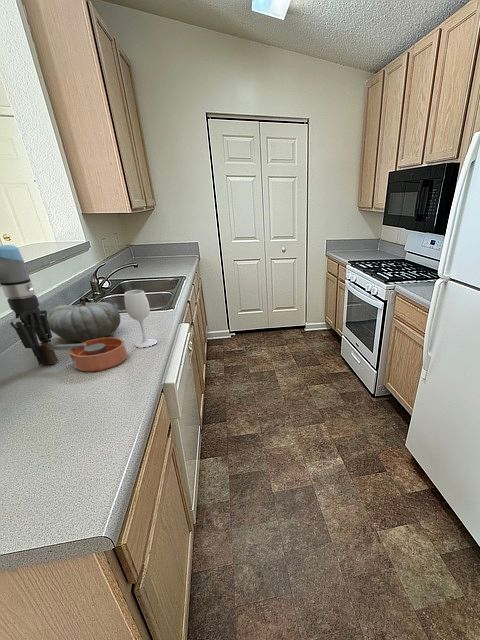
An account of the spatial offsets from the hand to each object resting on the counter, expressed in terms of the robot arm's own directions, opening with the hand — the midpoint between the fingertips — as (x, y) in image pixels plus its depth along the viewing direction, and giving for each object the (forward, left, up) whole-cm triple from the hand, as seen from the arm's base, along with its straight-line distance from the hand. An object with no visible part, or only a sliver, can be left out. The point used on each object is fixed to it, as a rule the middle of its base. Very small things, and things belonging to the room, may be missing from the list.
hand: (46, 361), depth 116 cm
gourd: (0, +25, -1) cm, 25 cm away
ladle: (+10, 0, 0) cm, 10 cm away
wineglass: (+27, +18, -1) cm, 33 cm away
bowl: (+18, +2, -1) cm, 19 cm away
